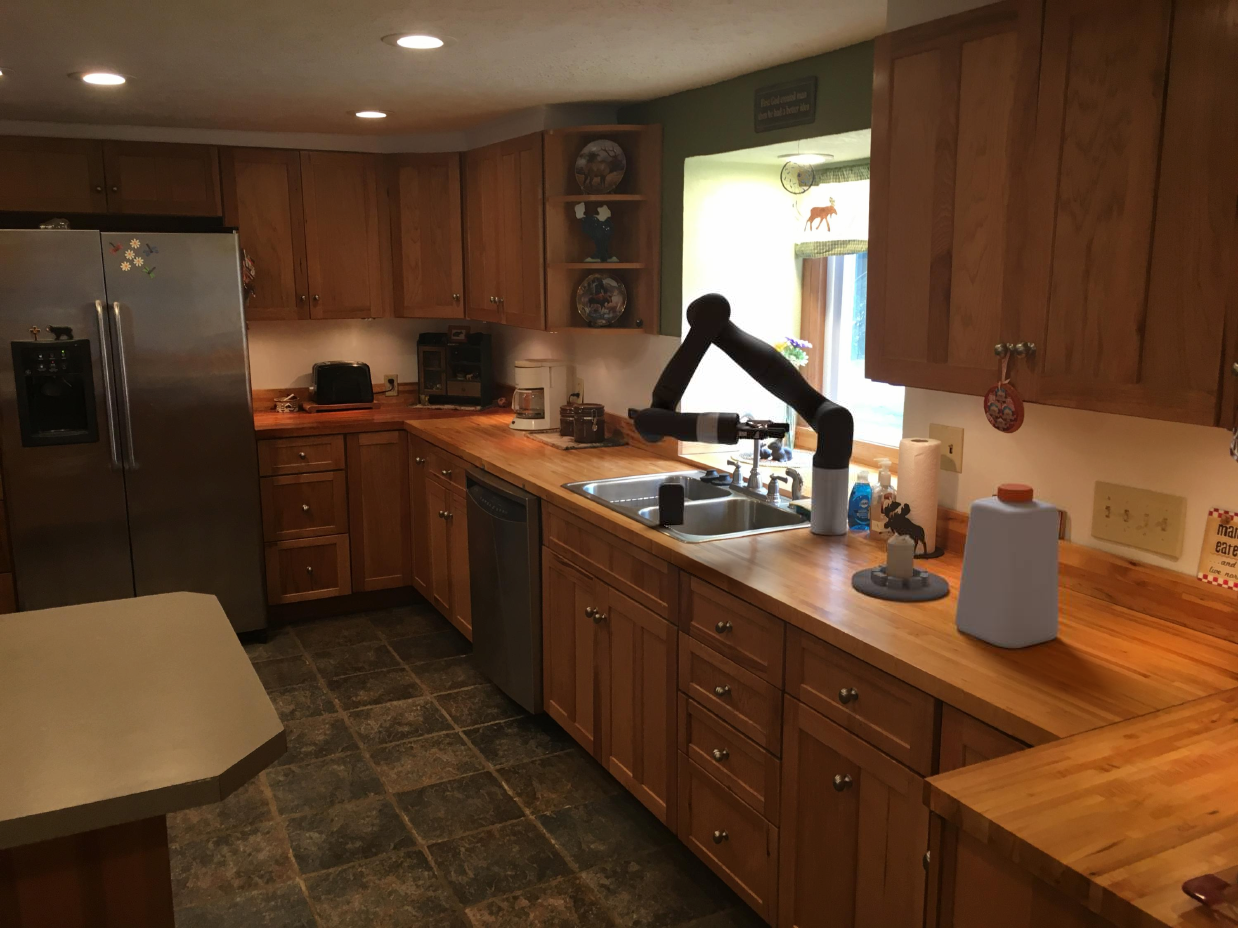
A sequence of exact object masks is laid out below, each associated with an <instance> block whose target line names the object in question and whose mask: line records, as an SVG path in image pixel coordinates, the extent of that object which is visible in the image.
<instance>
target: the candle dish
mask: <svg viewBox="0 0 1238 928" xmlns="http://www.w3.org/2000/svg"><path fill="white" fill-rule="evenodd" d="M903 581H904V578H898V577H890V576H889V577H888V580H887V575H886V563H884V564H883V563H882V564H878V566H873V567H869V568H864V569H860V570H858V571H856V572H854V573H853V574H852V575H851V586H852V588H854V589H855V590H856V591H857V592H859V593H862V594H864V595H866V596H870V597H874V598H877V599H882V600H888V601H895V602H896V601H897V602H909V603H910V602H926V601H933V600H937V599H938V600H939V599H941V598H943V597H945V596H946V595H947V594H948V593H949V590H950V589H949V588H950V583H949V582H948V580H947V579H946V578H944V577H942V576H941V575H938V574H936V573H933V572H929V571H928V570H926V569H924V568H922V567H919V566H916V567H913V577H911V578H906V584H903Z"/></svg>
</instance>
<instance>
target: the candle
mask: <svg viewBox="0 0 1238 928" xmlns="http://www.w3.org/2000/svg"><path fill="white" fill-rule="evenodd" d="M886 547H887V548H886V563H885V564H886V575H887V580H888V577H889V576H890V577H898V578H904V581H903V584H906V578H911V577H913V568H914V560H915V558H914V557H915V542H914V541H913V539H912V538H911V537H910V535H909V534H904V535H898V534H895V535H893V536H891V537H890V538H889V539H888V540H887V546H886Z"/></svg>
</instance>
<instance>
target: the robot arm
mask: <svg viewBox="0 0 1238 928" xmlns="http://www.w3.org/2000/svg"><path fill="white" fill-rule="evenodd" d="M731 308H732V307H731V304H730V302H729V300H728V299H727V298H726V297H725V296H724V295H722V294H720V293H717V292H710V293H706V294H703V295H701V296H699V297H698V298H696V299H693V301H691V302H690V303H689V304H688V306H687V308H686V311H685V312H686V313H685V314H686V315H685V316H686V317H685V318H686V322H687V323H688V326H689V330H688V332H687V334H686V336H685V338H684V339H683V342H682V343H681V344H680V345H679V347H678V349H677V350H676V351H675V353H674V354H673V355H672V357H671V358H670V360H669V361H668V363H667V364H666V366H665V367H664V369H663V370H662V372H661V374H660V377H659V378H658V380H657V382H656V384H655V385H654V388H653V390H652V391H651V392H652V393H651V404H650V407H647V408H646V407H645V408H642V409H641V410H639V411H638V412H636V414H635V415H634V418H633V427H634V429H635V431H636V432H637V434H638V435H639V436H640V437H641V439H642V441H643V440H644V441H645V442H646V443H649V444H657V443H659V442H661V441H662V440H663V439H664V438H665V437H667V438H674V439H675V440H677V441H680V442H685V443H686V442H687V443H688V442H689V443H703V444H709V445H711V444H712V445H732V446H736V445H737V444H738V443H739V442H740V440H751V441H755V440H756V441H765V440H768V439H782V440H783V439H785V438H786V433H789V432H790V427H791V424H790V423H789V422H774V421H772V419H765V420H764V419H747V420H746V421H745V422H741V418H740V414H739V413H738V412H726V411H725V412H724V411H722V412H721V411H718V412H716V411H706V412H705V411H704V412H680V411H677V408H678V405H679V403H680V402H681V400H682V398H683V396H684V395H685V392H686V390H687V389H688V386H689V384H690V383H691V380H692V379H693V377H694V374H695V373H696V371H697V369H698V367H699V365H700V363H702V360H703V358H704V356H705V355H706V353H707V352H708V349H709V348H710V347H711V345H712V344H713V345H714V346H715V347H717V348H718V349H719V350H721V351H722V352H724V353H725V354H726V356H728V357H729V358H730V359H731V360H732V361H733V362H734V363H735V364H737V366H739V368H741V369H742V370H743V371H744V372H745V373H747V374H748V376H750V378H752V379H753V380H754V381H755V382H756V383H758V385H760V386H761V387H762V388H764V389H765V390H766V391H768V392H769V393H770V394H771V395H773V396H774V397H776V398H777V399H779V400H780V401H782V402H783V403H784V404H787V406H789V407H790V408H791V409H793V411H795V412H796V413H797V414H798V415H799V416H800V417H801V418H802V420H804V421H805V423H807V425H808V426H809V427H810V428H811V429H812V430H813V432H815V433H816V434H817V438H816V439H817V440H816V450H815V452H814V454H813V455H812V466H811V467H812V468H811V469H812V470H811V499H810V500H811V501H810V503H811V504H810V505H811V506H810V529H809V530H810V532H812V533H813V534H817V535H820V536H821V535H822V536H841V535H845V534H846V533H847V531H848V530H847V529H848V509H849V508H848V507H849V506H848V505H849V504H848V503H849V480H850V479H849V478H850V477H849V476H850V475H849V474H850V461H851V458H852V455H853V448H854V447H853V446H854V434H855V432H854V431H855V422H854V417H853V414H852V413H851V411H850V409H848V408H847V407H844V406H842V405H840V404H838V403H836V402H834V401H832V400H830V399H829V398H828V397H826V396H825V395H823V394H821V393H820V392H819V391H818V390H816V389H815V388H814V387H813V386H812V385H811V384H809V382H808V381H807V379H805V377H804V376H803V374H802V373H801V372H800V371H799V369H798V368H797V367H796V366H795V365H794V363H792V362H791V361H790V360H789V359H788V358H787V357H786V356H784V355H783V354H782V353H781V352H780V351H779V350H778V349H776V348H775V347H774V346H773V345H771V344H769V343H767V342H765V341H764V340H762V339H760V338H759V337H756V336H754V335H752V334H750V333H748V332H746V331H744V330H743V329H741V328H740V327H739V326H737V324H735V323H734V322H733V321H732V320H731V315H732V309H731Z"/></svg>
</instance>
